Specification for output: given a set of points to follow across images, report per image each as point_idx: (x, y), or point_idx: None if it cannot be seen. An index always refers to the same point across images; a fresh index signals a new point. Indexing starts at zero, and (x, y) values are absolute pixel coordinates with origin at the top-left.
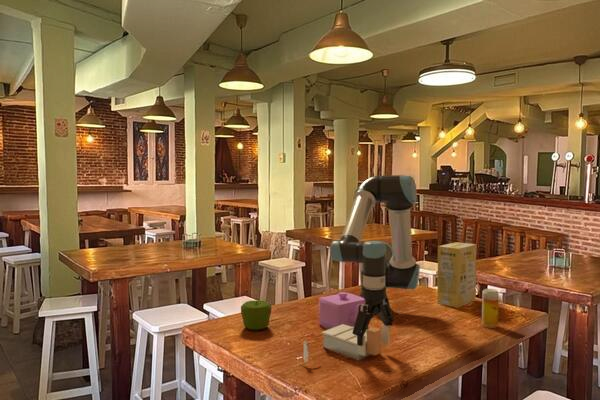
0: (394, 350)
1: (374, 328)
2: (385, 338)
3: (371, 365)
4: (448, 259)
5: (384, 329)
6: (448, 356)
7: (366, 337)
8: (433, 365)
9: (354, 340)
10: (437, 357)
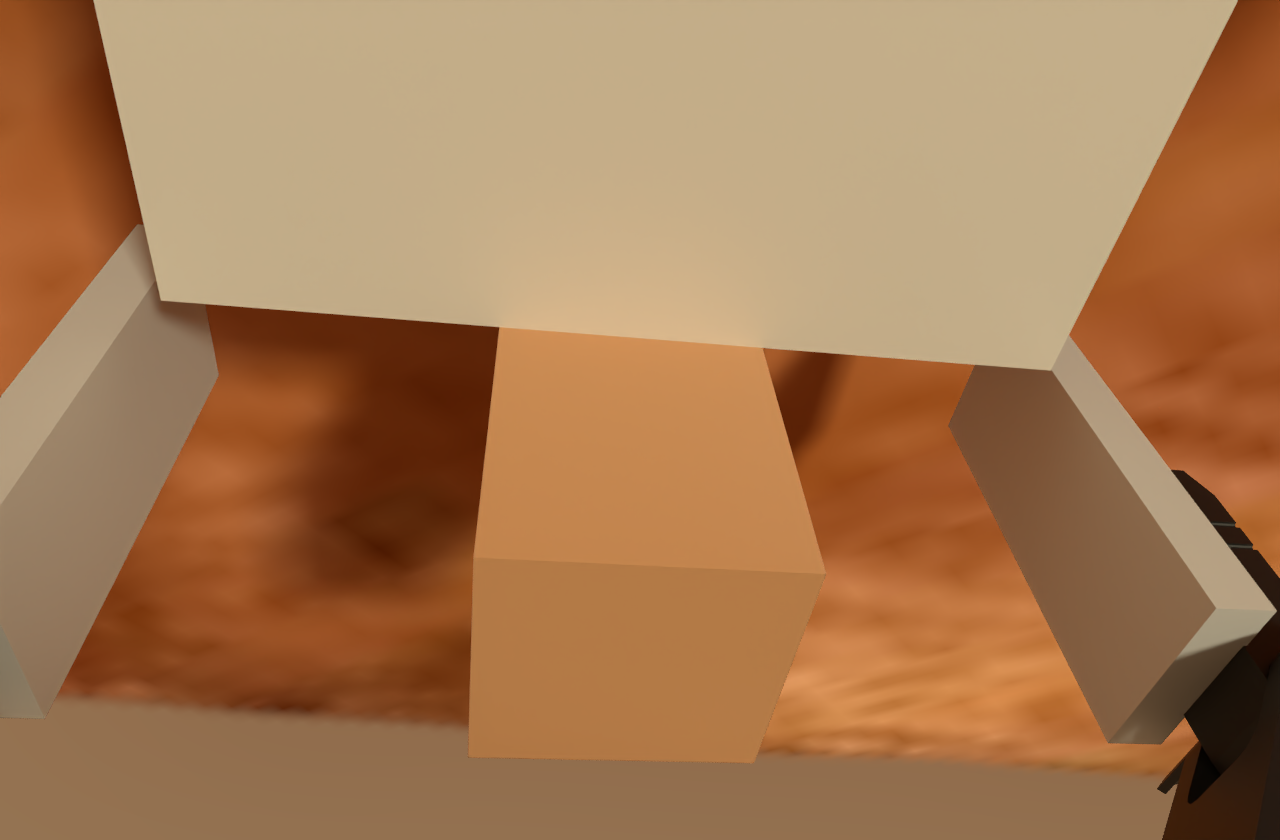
0: (1094, 332)
1: (726, 652)
2: (1008, 452)
3: (345, 338)
4: None
5: (1110, 578)
6: (1120, 749)
7: (735, 201)
8: (829, 741)
9: (271, 49)
10: (1053, 707)
